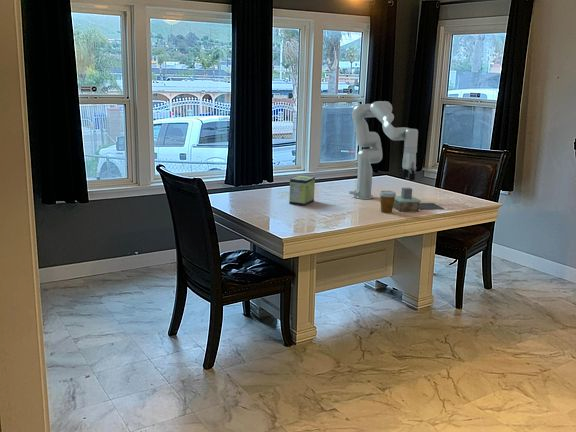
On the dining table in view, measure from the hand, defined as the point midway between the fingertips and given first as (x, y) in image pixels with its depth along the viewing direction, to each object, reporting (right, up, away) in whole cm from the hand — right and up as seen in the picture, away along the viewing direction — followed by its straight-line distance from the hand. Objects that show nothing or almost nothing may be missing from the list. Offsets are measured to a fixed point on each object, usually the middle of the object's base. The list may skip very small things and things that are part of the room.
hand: (408, 178), depth 349 cm
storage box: (-1, -18, +5) cm, 19 cm away
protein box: (-63, -14, +15) cm, 67 cm away
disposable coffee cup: (-14, -20, -2) cm, 24 cm away
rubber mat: (+15, -16, +14) cm, 26 cm away
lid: (-1, -12, +4) cm, 13 cm away
